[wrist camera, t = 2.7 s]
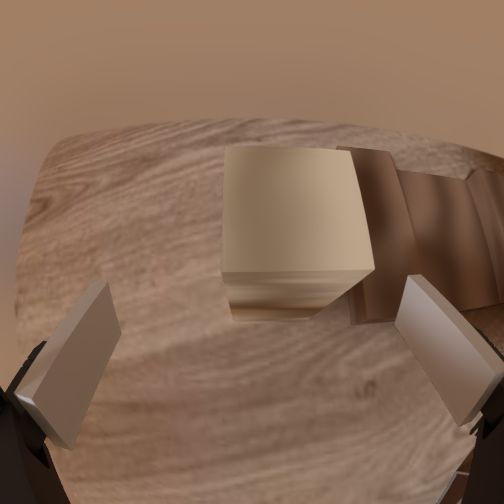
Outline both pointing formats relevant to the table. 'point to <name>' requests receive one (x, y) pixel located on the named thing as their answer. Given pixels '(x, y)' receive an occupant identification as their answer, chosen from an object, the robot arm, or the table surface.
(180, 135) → the table surface
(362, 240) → the tall wooden block
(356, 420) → the table surface
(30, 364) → the robot arm
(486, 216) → the cradle
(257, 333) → the table surface
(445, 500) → the food container
